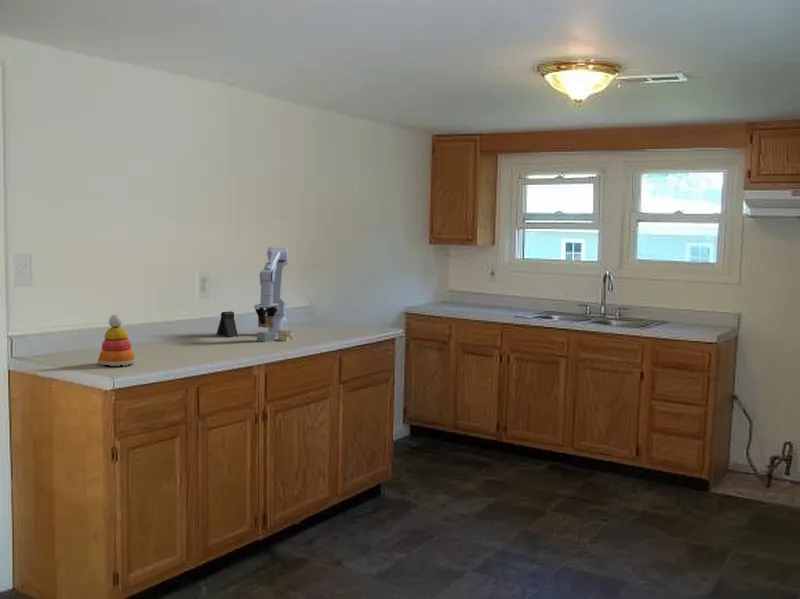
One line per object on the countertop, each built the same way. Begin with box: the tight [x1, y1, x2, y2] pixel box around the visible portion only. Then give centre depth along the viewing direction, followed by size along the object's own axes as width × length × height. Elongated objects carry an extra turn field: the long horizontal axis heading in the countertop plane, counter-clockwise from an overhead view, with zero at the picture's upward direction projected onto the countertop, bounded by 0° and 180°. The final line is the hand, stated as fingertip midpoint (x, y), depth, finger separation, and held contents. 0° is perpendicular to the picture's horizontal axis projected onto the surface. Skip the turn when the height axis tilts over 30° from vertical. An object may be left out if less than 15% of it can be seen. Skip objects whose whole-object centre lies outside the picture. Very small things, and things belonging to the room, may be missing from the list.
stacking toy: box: [97, 314, 137, 367], centre depth 309 cm, size 14×14×20 cm
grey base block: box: [256, 331, 276, 343], centre depth 385 cm, size 6×6×4 cm
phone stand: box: [215, 310, 239, 338], centre depth 395 cm, size 9×6×12 cm, turn 55°
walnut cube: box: [257, 315, 273, 329], centre depth 384 cm, size 5×5×5 cm
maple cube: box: [277, 328, 293, 342], centre depth 390 cm, size 5×5×5 cm
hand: (266, 323), depth 384 cm, fingers closed on walnut cube, 5 cm apart
